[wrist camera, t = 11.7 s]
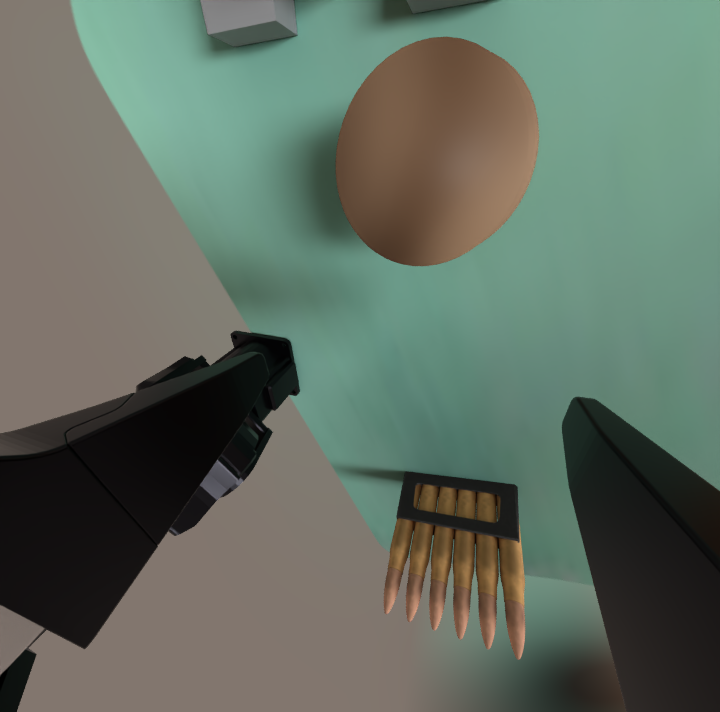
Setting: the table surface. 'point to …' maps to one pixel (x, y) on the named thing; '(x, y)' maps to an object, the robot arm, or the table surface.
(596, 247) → the table surface
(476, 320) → the table surface
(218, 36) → the notched board
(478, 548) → the ammunition clip
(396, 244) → the brown door knob
